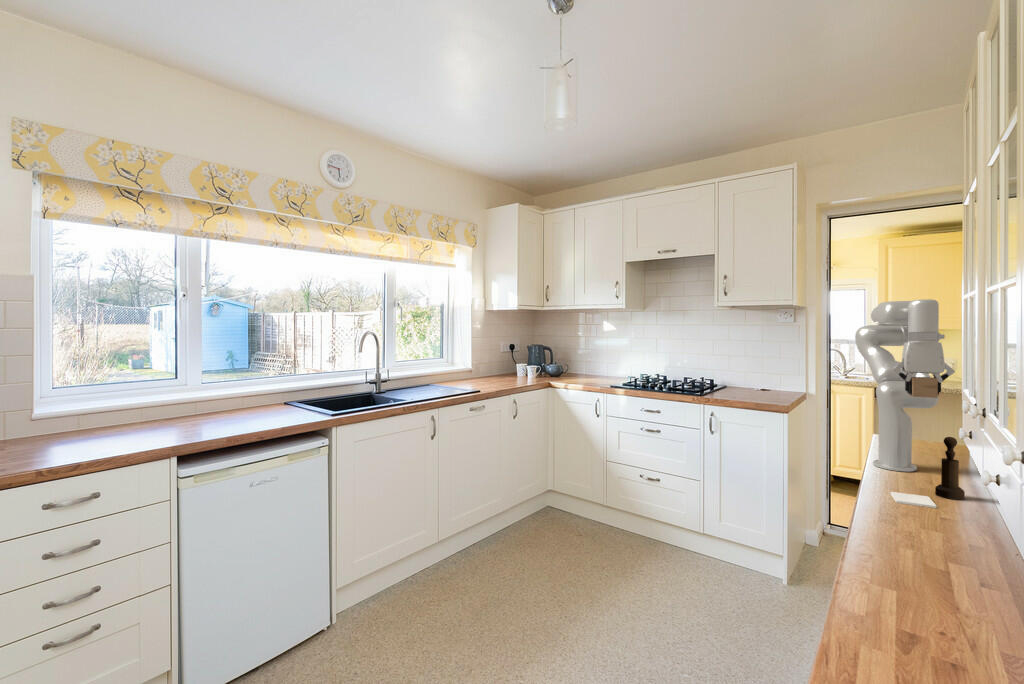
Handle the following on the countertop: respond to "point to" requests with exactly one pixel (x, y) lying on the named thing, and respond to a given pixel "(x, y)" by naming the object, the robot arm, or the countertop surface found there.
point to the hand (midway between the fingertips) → (922, 393)
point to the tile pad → (913, 499)
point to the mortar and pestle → (950, 474)
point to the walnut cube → (924, 387)
